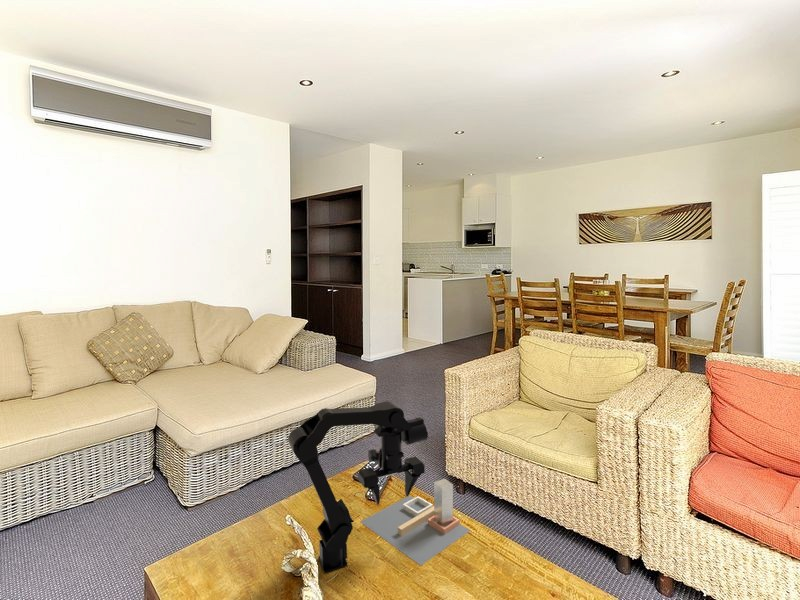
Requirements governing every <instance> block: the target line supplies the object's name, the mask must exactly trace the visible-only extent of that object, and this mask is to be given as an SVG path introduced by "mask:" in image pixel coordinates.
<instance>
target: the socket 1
mask: <svg viewBox="0 0 800 600" xmlns="http://www.w3.org/2000/svg"><path fill="white" fill-rule="evenodd" d="M413 498H414V499H412V500H410V501H408V502H406V503H404V504H403V509H404V510H406V511H407V512H409V513H411V514H412V515H414V516H418V515H419V514H421V513H423V512H425V511H426V510H428V509H430V508H431V507H433V506H434V504H433V503H431V502H429V501H427V500H425V499H424V498H422V497H420V496H418V495H417V496H416V497H413ZM417 502H419V503H421V504H422V505H424V506H426V507H425V508H424V509H422V510H420V511H418V512H417V511H416V510H414V509H412V508H411V507H410V506H411V505H413V504H415V503H417Z"/></svg>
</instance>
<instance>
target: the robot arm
mask: <svg viewBox="0 0 800 600" xmlns="http://www.w3.org/2000/svg"><path fill="white" fill-rule="evenodd" d="M361 425H363V426H365V425H374V426H377V427H376V428H374V430H373V433H374V434H375V435H376V436H377V437H379V438H381V440H380V441H381V442H380V443H381V446H380V447H381V448H379V450H376V449H368V452H367V457H368V461H369V462H372V463H373V462H374V463H375V464H377V466H378V467H379V468H381V469H379V470H374V469H373V468H372V467H367V468H362V469H359V471H358V472H357V480H358V481H359V483H360V484H361V485H362V486H363V488H365V489H368V490H369V491H371V493H372V497H373V499H374V500H375V503H376V505H377V506H379V504H380V485H379V479H381V478H386V477H389V476H393V475H397V474H400V473H401V474H402V473H404V477H405V479H404V480H405V481H404V483H405V484H404V493H405V494H404V495H405V496H406V497H408V496H409V495H410V494H411V492H412V489H413V488H414V486H415V483H416V482H417V480H418V479H419V478H420V477H421V476H422V475H424V474H425V473H426V466H425V463H424V462H423V461H421V459H420V458H419V457H417V456H412V457H408V458H405V459H404V460H403V459H402V458H403V457H404V452H403V448H402V447H403V446H402V443H403V442H404V443H405V444H406V445H407V446H409V445H415V444H417V443H423V442H427V441H428V436H429V433H428V430H427V426H426V424H425V419H423V418H422V417H416V418H413V419H408V420H407V419H406V418H405V412H404V411H403V409H402V408H401V407H399V406H398V405H396V404H395V403H393V401H388V400H387V401H386V400H385V401H382V402H378V403H375V404H373V405H371V406H367V407H364V406H363V407H346V408H345V407H344V408H342V407H341V408H327V407H325V408H321V409H320V410H319V411H318V412H317V413H316V414H315V415H313V416H312V417H310V418H308V419H306V420H305V421H304V422H302V423H301V424H300V425H299V426H298V427H296V428H294V429H293V430H292V431H291V432H290V433H289V434H288V436H287V441H288V444H289V446H290V448H291V451H292V452H293V454H294V455H295V456H296V458H297V459H298V460H299V462H300V464H302V466H303V467H304V468H305V470H306V472H307V474H308V476H309V479H310V481H311V483H312V486H313V487H314V488H313V489H315V492H316V494H317V496H318V499H319V501H320V503H321V505H322V512H323V516H324V517H323V518H324V519H323V520H322V521H321V523H320V524H319V525H318V527H317V528H316V529H317V531H318V534H319V536H320V538H321V539H319V545H318V546H319V556H318V557H317V560H318V562H319V564H320V567H321V569H322V571H323V573H325V574H326V572H327V573H329V572H332V571H334V570H335V571H336V570H338V569H341V568H344V567H347V566H348V561H347V559H348V546H347V545H348V543H347V542H348V539H349V536H350V535H351V533H352V530H353V528H354V527H353V523H354V519H353V518H352V516H351V515H350V511H349V509H348V507H347V505H346V503H345V502H344V500H343V499H342V498H340V499H339V500H338V501H337V498H336V496H335V494H334V493H333V490H332V488H331V486H330V483H329V481H328V479H327V476H326V473H325V472H324V470H323V468H322V466H321V463H320V460H319V451H318V446H319V445H320V444H321V443H322V442H323V440H324V439H325V437H326V435H327V434H328V433H329V431H330V430H331V429H332V428H333V427H343V426H346V427H347V426H361ZM402 461H404V464H403V462H402Z"/></svg>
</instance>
